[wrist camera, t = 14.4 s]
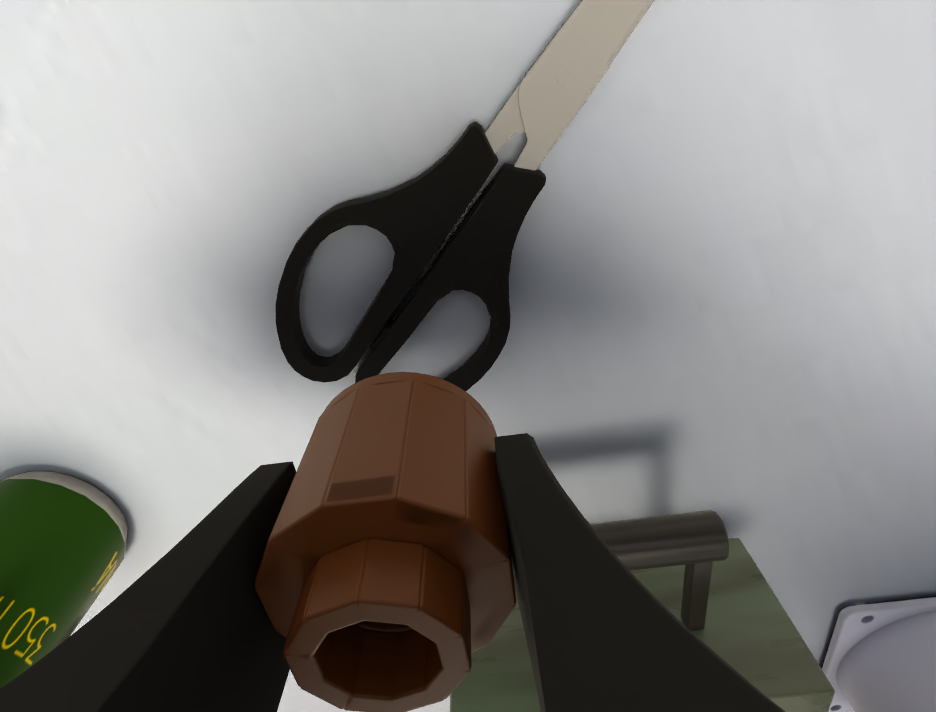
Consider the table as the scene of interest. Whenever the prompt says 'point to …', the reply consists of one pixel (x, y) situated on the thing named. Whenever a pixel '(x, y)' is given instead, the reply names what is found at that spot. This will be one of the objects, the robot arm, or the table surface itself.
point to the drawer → (690, 600)
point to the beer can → (51, 561)
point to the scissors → (461, 209)
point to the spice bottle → (390, 547)
